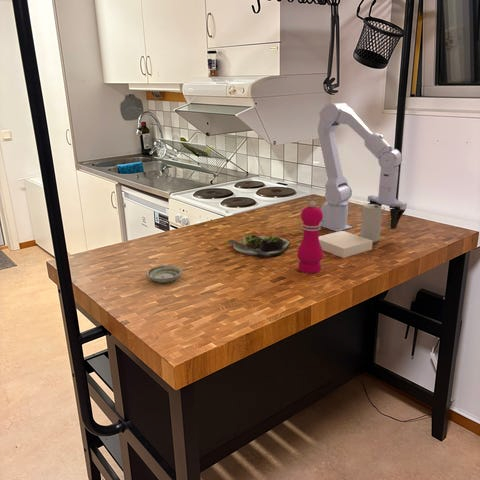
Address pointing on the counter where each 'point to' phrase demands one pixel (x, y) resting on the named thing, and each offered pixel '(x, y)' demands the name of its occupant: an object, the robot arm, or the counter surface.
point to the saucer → (164, 273)
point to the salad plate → (261, 245)
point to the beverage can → (371, 222)
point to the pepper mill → (310, 240)
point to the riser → (344, 244)
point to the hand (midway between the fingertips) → (384, 225)
